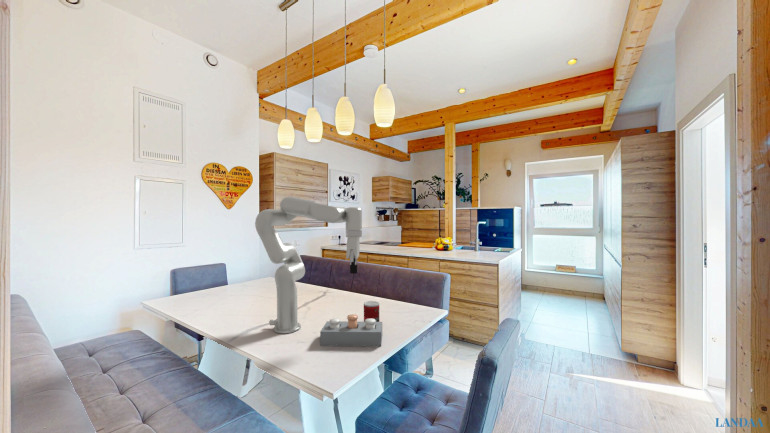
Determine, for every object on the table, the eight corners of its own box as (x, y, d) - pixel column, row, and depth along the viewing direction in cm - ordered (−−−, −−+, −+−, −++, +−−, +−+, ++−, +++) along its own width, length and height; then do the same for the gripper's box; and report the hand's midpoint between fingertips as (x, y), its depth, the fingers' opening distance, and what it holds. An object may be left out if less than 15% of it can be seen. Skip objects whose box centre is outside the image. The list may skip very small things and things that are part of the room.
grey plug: (364, 340, 127) (364, 322, 127) (365, 336, 132) (365, 318, 132) (375, 340, 127) (375, 322, 127) (376, 336, 132) (375, 318, 132)
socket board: (320, 345, 124) (320, 331, 124) (326, 334, 136) (326, 321, 136) (381, 346, 123) (381, 332, 123) (382, 334, 135) (382, 321, 135)
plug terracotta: (346, 336, 128) (346, 317, 128) (348, 331, 132) (348, 314, 132) (357, 336, 128) (356, 318, 127) (358, 332, 132) (358, 314, 132)
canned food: (377, 328, 143) (377, 306, 143) (361, 327, 145) (361, 305, 145) (380, 322, 151) (380, 301, 151) (366, 321, 152) (365, 300, 152)
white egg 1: (328, 340, 128) (328, 321, 128) (330, 335, 133) (330, 318, 133) (339, 340, 128) (338, 322, 128) (340, 335, 132) (340, 318, 132)
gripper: (348, 232, 143) (348, 270, 143) (342, 234, 128) (342, 276, 128) (363, 232, 143) (363, 270, 143) (359, 235, 128) (359, 276, 128)
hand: (353, 273), depth 136 cm, fingers closed
